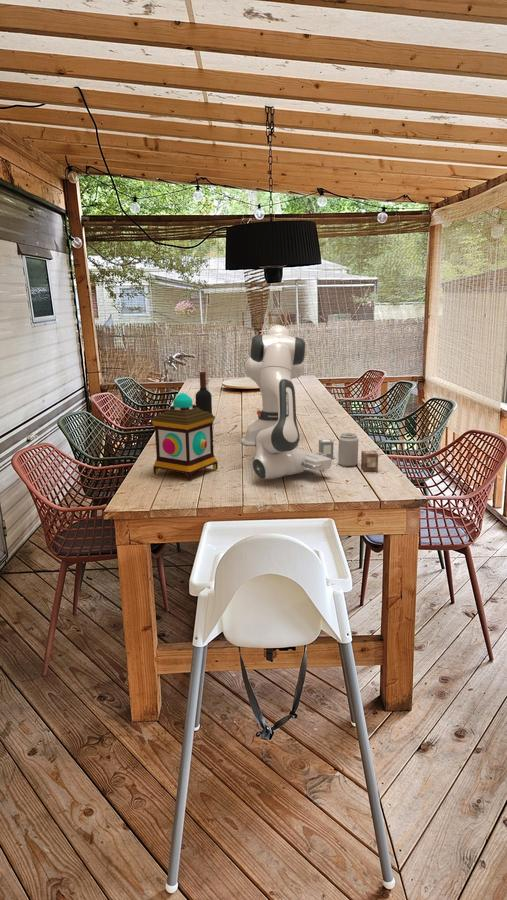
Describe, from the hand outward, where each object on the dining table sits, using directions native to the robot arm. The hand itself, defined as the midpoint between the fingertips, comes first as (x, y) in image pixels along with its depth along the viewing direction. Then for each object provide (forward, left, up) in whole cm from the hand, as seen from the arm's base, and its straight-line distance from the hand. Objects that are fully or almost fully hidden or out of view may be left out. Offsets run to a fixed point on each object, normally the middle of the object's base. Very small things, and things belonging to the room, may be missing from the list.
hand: (324, 455), depth 217 cm
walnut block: (+16, -3, -6) cm, 18 cm away
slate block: (+4, +17, -6) cm, 19 cm away
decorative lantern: (-52, +3, -6) cm, 52 cm away
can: (+10, +6, -6) cm, 13 cm away
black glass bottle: (-45, +95, -6) cm, 105 cm away
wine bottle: (-46, +65, -6) cm, 80 cm away
